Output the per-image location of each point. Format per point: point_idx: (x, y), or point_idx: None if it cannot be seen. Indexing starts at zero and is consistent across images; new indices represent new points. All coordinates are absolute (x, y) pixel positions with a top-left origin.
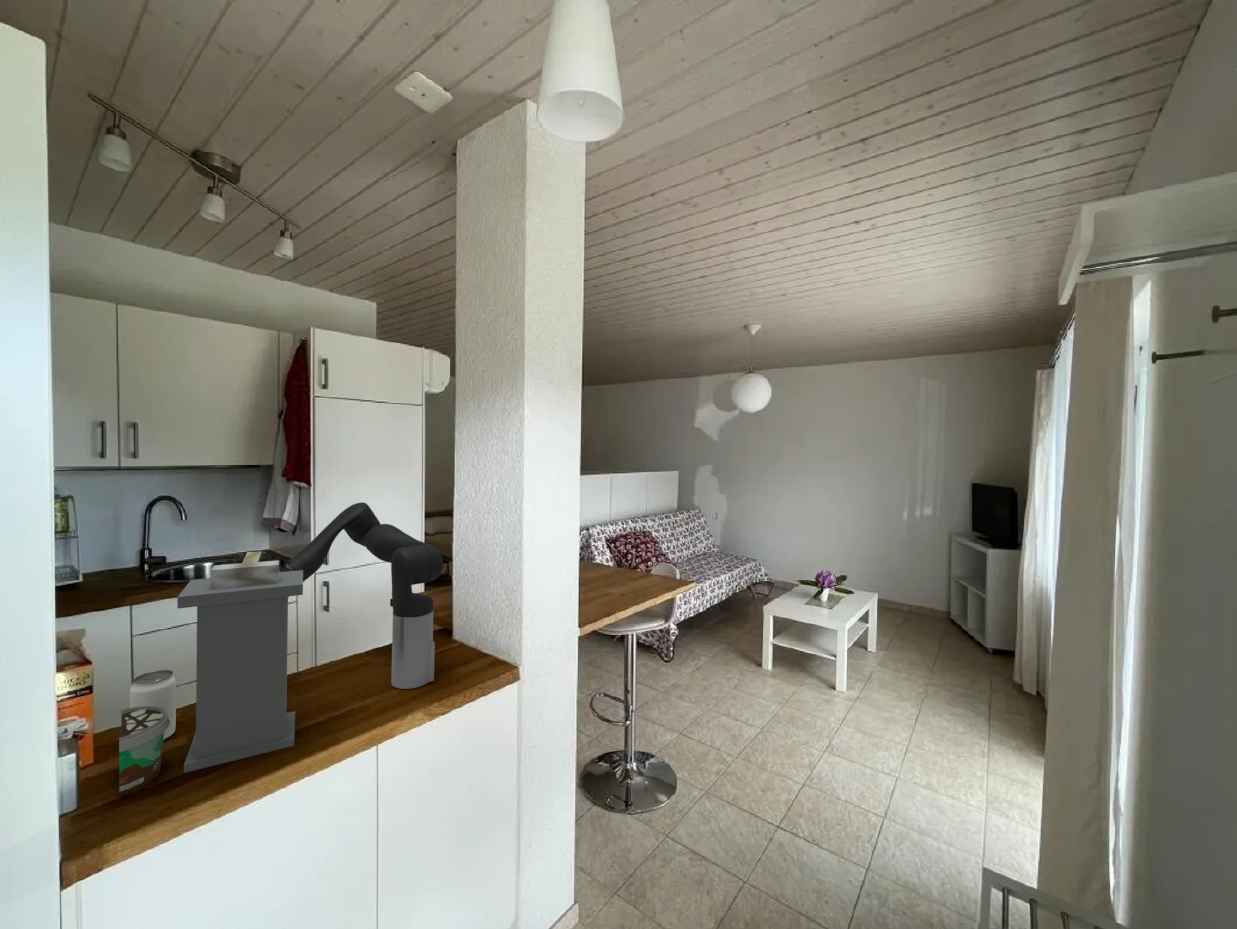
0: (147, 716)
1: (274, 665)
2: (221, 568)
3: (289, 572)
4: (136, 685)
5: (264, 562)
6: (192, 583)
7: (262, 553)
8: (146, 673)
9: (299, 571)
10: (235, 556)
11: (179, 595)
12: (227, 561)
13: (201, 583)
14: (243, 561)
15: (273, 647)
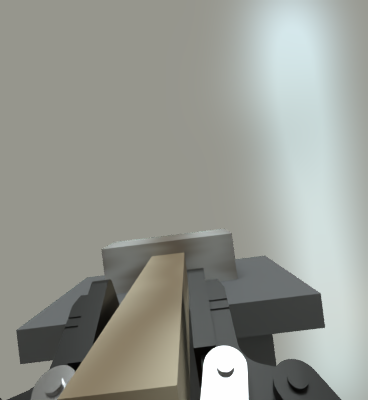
0: None
1: None
2: (209, 231)
3: (63, 318)
4: None
5: (133, 244)
6: (290, 280)
7: (109, 283)
8: None
9: (35, 322)
10: (219, 283)
11: (266, 257)
12: (297, 365)
13: (268, 280)
14: (181, 273)
15: None
